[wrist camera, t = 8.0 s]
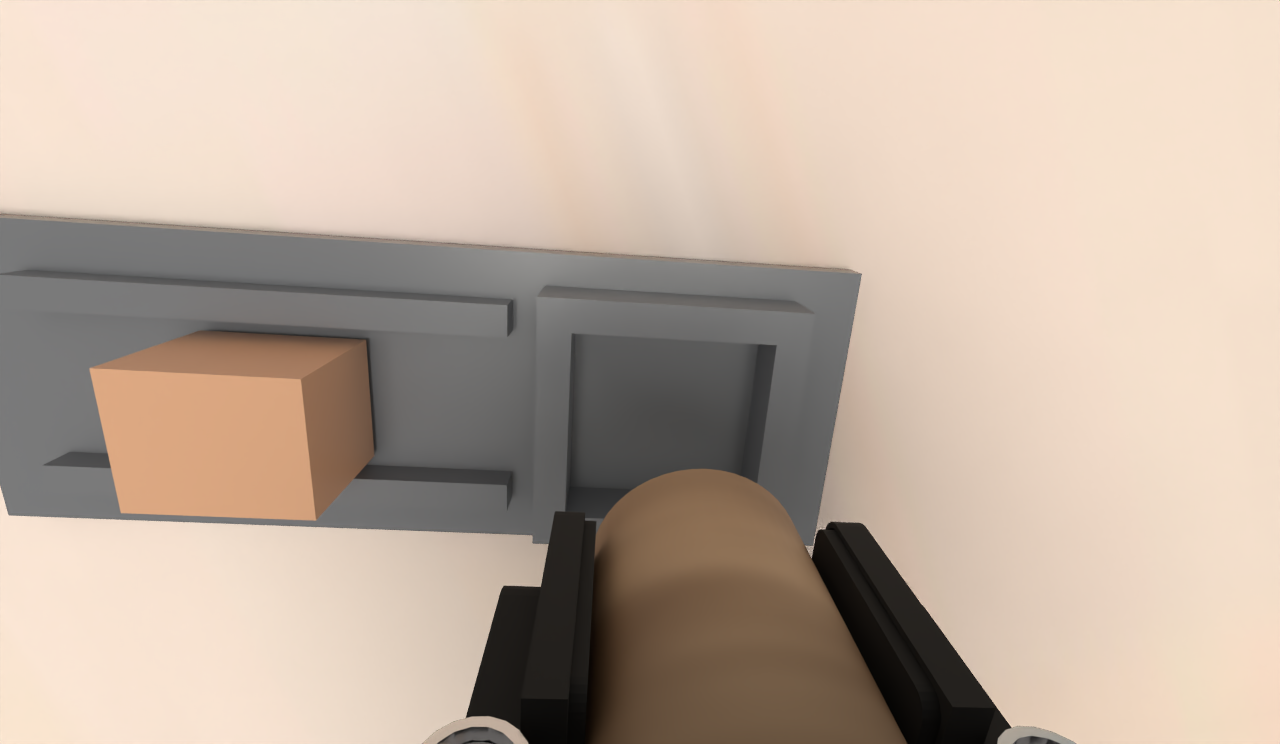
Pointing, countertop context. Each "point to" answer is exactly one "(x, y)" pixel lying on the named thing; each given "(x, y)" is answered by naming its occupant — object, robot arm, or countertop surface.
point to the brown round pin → (719, 626)
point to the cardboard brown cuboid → (236, 424)
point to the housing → (439, 366)
